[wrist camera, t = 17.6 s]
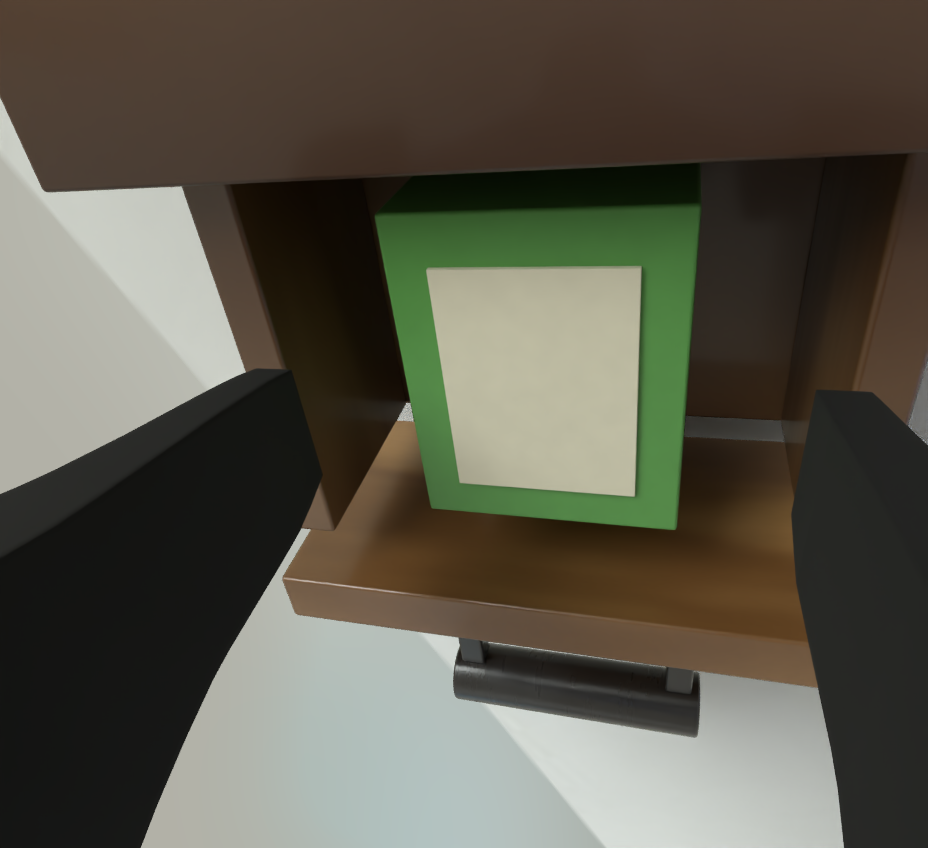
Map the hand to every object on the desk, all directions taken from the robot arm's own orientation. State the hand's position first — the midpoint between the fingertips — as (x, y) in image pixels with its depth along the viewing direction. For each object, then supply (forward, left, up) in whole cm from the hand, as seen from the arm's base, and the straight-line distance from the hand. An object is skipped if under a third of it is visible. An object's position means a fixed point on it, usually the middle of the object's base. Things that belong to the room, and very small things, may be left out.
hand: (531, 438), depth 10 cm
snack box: (0, 0, -5) cm, 5 cm away
